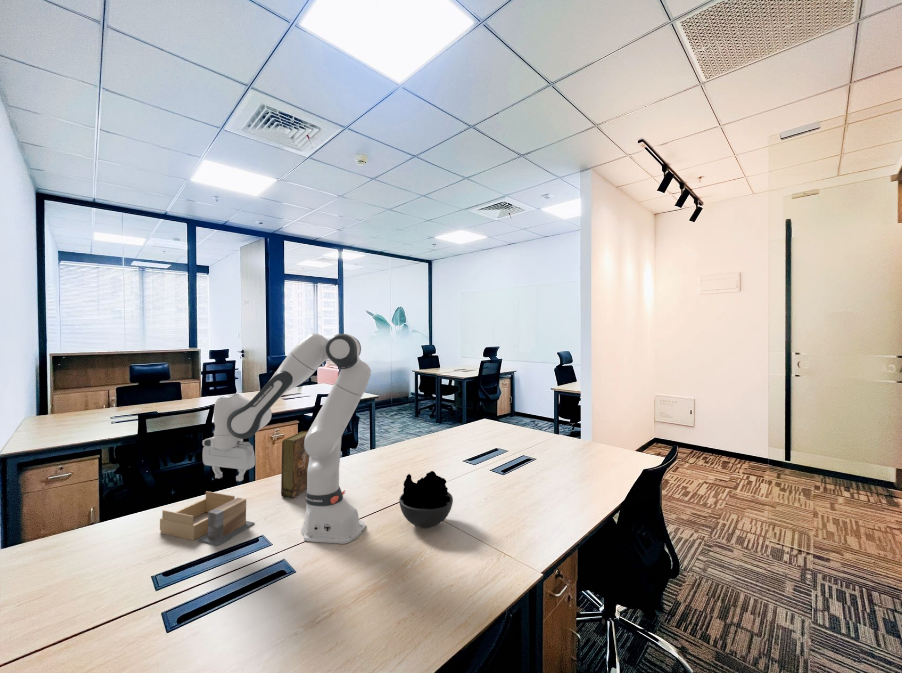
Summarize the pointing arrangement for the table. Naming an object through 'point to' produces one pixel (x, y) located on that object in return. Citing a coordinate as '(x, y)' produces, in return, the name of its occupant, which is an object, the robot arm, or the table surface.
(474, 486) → the table surface
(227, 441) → the robot arm
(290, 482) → the book
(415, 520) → the coal bowl
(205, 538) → the mat
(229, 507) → the capped box
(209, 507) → the carton
